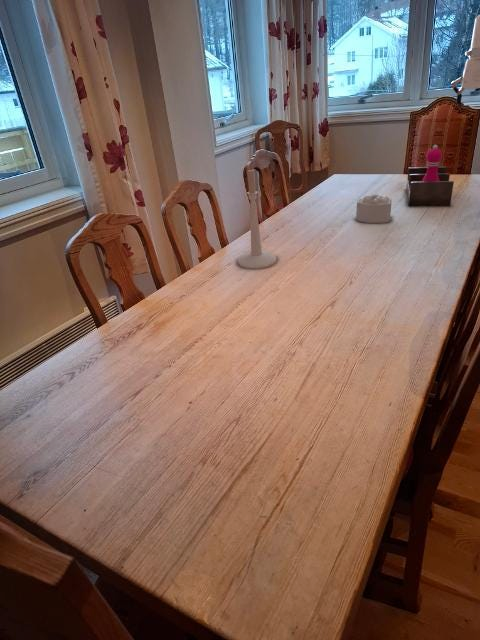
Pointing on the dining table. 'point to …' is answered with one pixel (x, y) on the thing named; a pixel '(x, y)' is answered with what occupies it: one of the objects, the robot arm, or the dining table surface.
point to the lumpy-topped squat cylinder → (374, 209)
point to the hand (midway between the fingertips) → (472, 104)
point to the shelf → (428, 188)
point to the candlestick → (255, 235)
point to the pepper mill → (432, 164)
